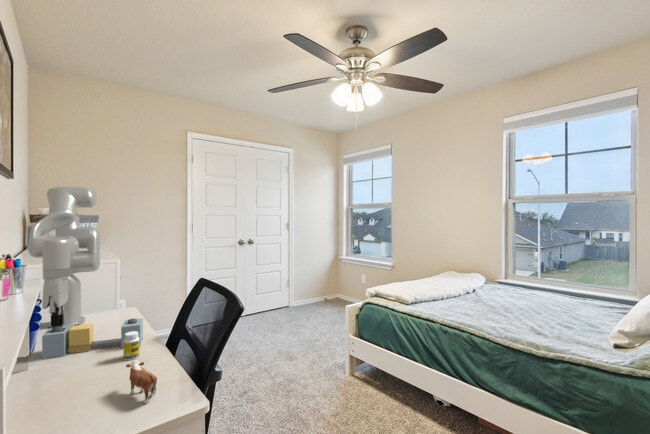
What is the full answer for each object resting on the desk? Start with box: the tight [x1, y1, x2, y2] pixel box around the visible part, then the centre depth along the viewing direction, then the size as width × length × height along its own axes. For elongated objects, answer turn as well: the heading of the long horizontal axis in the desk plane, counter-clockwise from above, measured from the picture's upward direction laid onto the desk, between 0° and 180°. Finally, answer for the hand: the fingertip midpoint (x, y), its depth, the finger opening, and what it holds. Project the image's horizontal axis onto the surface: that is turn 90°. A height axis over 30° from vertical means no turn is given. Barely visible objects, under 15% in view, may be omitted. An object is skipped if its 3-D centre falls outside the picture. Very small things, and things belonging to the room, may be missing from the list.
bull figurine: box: [125, 359, 158, 404], centre depth 92 cm, size 4×13×8 cm, turn 51°
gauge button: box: [52, 325, 63, 333], centre depth 117 cm, size 3×3×4 cm
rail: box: [66, 337, 121, 354], centre depth 121 cm, size 3×17×2 cm, turn 112°
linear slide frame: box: [41, 318, 144, 360], centre depth 121 cm, size 8×29×9 cm, turn 112°
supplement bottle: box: [123, 331, 140, 361], centre depth 114 cm, size 5×5×8 cm
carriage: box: [68, 323, 94, 354], centre depth 120 cm, size 5×6×8 cm
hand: (57, 325), depth 117 cm, fingers closed
